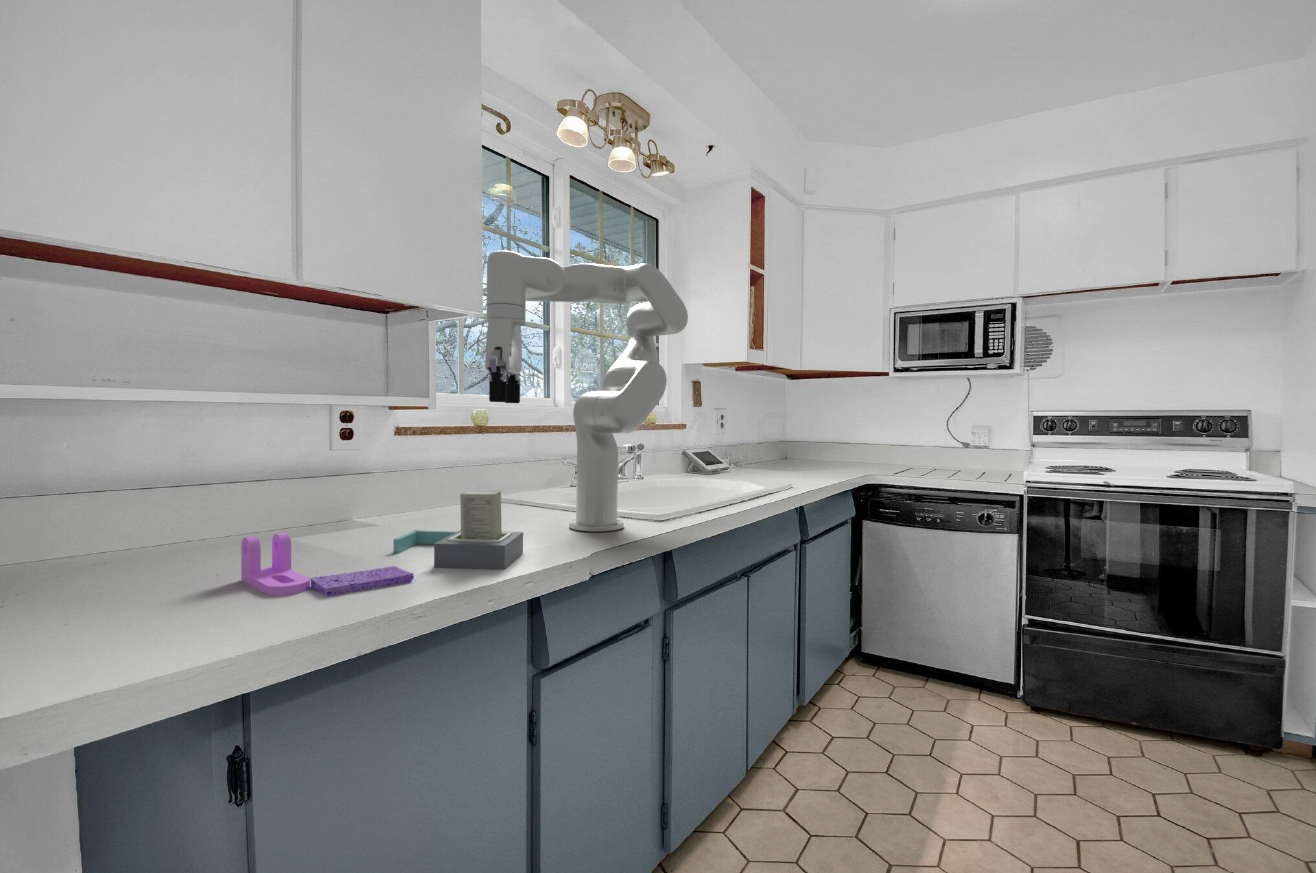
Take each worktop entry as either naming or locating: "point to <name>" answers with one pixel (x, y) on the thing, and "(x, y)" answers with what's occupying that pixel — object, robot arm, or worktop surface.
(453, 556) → the socket block
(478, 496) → the skincare box
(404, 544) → the teal l-shaped piece
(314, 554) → the worktop surface
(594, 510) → the robot arm
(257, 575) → the bracket
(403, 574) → the sponges
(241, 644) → the worktop surface
